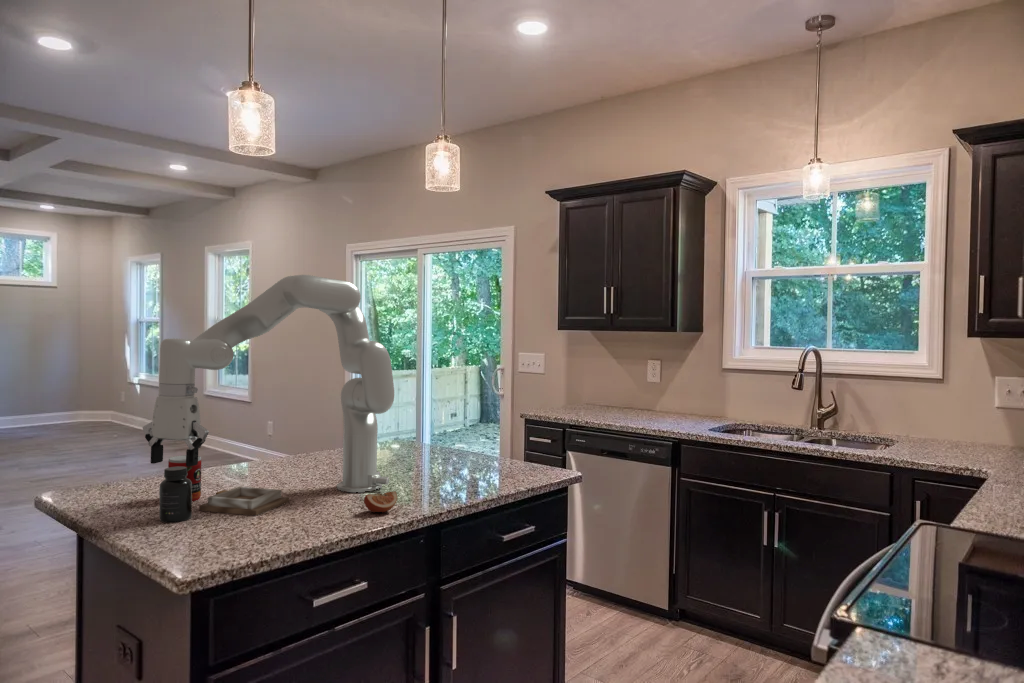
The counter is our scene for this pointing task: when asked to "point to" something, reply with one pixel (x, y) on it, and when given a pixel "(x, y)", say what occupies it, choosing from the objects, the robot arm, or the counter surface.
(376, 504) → the fruit slice
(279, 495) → the pocket board
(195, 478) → the canned food
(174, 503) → the supplement bottle
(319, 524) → the counter surface
